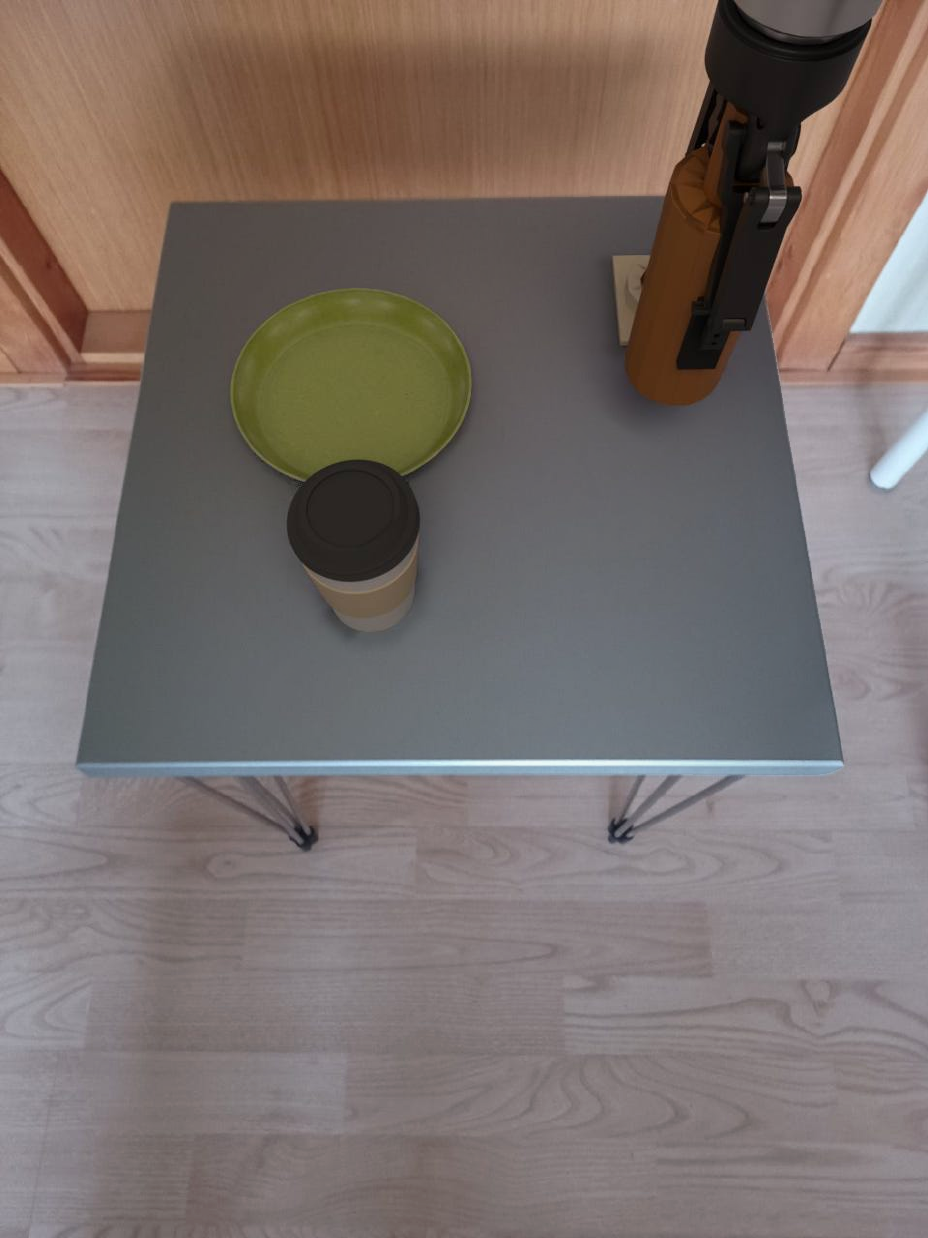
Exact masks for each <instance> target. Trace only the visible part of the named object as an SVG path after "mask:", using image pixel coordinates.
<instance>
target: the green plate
mask: <svg viewBox="0 0 928 1238" xmlns="http://www.w3.org/2000/svg"><path fill="white" fill-rule="evenodd" d="M229 390H230V391H229V393H230V394H229V395H230V396H229V397H230V407H231V411H232V415H233V418H234V422H235V424H236V426H237V428H238V430H239V432H240V434H241V436H242V437H243V439H244V441H245V442H246V444H247V445H248V446H249V447H250V448H251V450H252V451H253V452H254V453H255V454H256V455H257V456H258V457H259V458H260V459H261V460H263V462H265V463H266V464H268V465H269V466H270V467H272V468H273V469H275V470H276V471H278V472H279V473H282V474H284V475H286V476H288V477H290V478H292V479H294V480H297V481H299V482H300V481H301V482H302V483H304V482H305V481H306V480H307V479H308V478H309V477H310V476H312V475H313V474H314V473H316V472H317V471H319V470H321V469H322V468H324V467H326V466H329V465H331V464H334V463H337V462H341V461H346V460H355V459H362V460H371V461H375V462H379V463H382V464H384V465H387V466H389V467H391V468H392V469H394V470H395V471H397V472H398V473H399V474H400V475H401V476H402V477H403V478H404V477H405V476H407V475H409V474H411V473H413V472H415V471H417V470H418V469H419V468H421V467H423V466H424V465H426V464H427V463H429V461H431V460H432V459H433V458H435V457H436V456H437V455H438V454H439V453H440V452H441V451H443V449H444V448H446V446H447V445H448V444H449V443H450V441H451V440H452V439H453V438H454V437H455V435H456V433H457V432H458V430H459V428H460V427H461V426H462V424H463V421H464V419H465V417H466V414H467V411H468V409H469V405H470V401H471V397H472V369H471V365H470V360H469V357H468V355H467V352H466V350H465V347H464V345H463V344H462V341H461V340H460V338H459V336H457V334H456V332H455V331H454V330H453V329H452V327H451V326H450V325H449V324H448V323H447V322H446V321H445V320H444V319H443V318H442V317H441V316H439V315H438V314H437V313H436V312H434V311H433V310H432V309H430V308H428V307H427V306H426V305H424V304H422V303H420V302H418V301H416V300H415V299H412V298H409V297H408V296H405V295H402V294H398V293H395V292H391V291H387V290H382V289H376V288H368V287H367V288H366V287H349V288H338V289H332V290H326V291H322V292H318V293H315V294H312V295H309V296H306V297H303V298H301V299H298V300H296V301H294V302H292V303H290V304H288V305H286V306H284V307H283V308H281V309H280V310H278V311H277V312H275V313H274V314H272V315H271V316H270V317H268V318H267V319H266V320H265V321H264V322H262V324H261V325H260V326H259V327H257V329H256V330H254V332H253V333H252V334H251V335H250V337H249V338H248V340H247V341H246V342H245V344H244V345H243V347H242V349H241V351H240V352H239V355H238V357H237V359H236V361H235V365H234V367H233V371H232V374H231V380H230V389H229Z"/></svg>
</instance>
